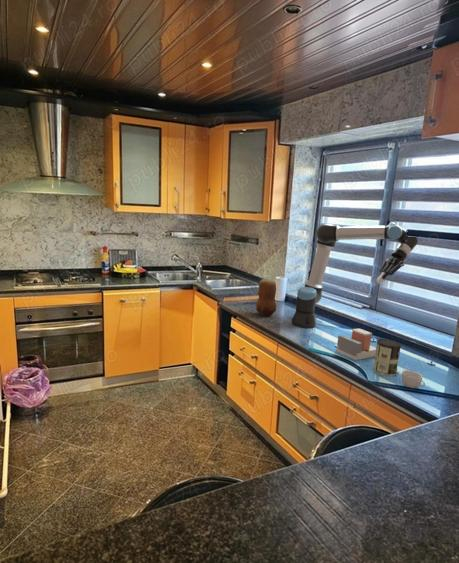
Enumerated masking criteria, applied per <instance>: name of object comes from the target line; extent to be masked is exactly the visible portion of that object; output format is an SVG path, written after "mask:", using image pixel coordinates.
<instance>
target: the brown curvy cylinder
mask: <svg viewBox="0 0 459 563" xmlns="http://www.w3.org/2000/svg"><path fill="white" fill-rule="evenodd" d="M257 294H258V299H257V301H256V305H255V307H256V312H258V314H260V315H262V316H264V317H270V316H272V315H273V314H275V313H276V311H277V303H276V294H277V284H276V281H275V280H274V279H266V278H263V279H260V280H259V283H258V293H257Z"/></svg>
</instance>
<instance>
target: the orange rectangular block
mask: <svg viewBox="0 0 459 563" xmlns="http://www.w3.org/2000/svg"><path fill="white" fill-rule="evenodd" d="M372 335H373V333H372V332H370V331H367V330H365V329H362V328H353V329H352V332H351V337H350V338H351V339H354V340H356V341H359V342H361V343H362V351H365V350H369V349H370V346H371V343H372V342H371V341H372Z"/></svg>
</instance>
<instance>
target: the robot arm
mask: <svg viewBox="0 0 459 563" xmlns="http://www.w3.org/2000/svg"><path fill="white" fill-rule="evenodd" d="M406 231H407V230H406V229H404V228H402V227H401V226H400V225H398V224H397V223H395V222H393V221H391V222H389V224H387V225H370V226H368V225H365V226H339V225H338V224H337V225H334V224H332V223H324V224H321V225H319V227H318V228H317V230H316V232H315V235H316V238H317V239H316V245H317V249H316V252H315V255H314V260H313V262H312V267H311V270H310V274H309V278H308V281H306V282H305V283H304V286H303V287H300V288H298V289H297V293H296V295H297V296H296V304H295V312H294V314H293V317H292V318H291V324H292V325H293V326H295V327H298V328H305V329H311V328H316V324H317V322H316V317H315V308H316V307H315V306H316V304H317V303H319V302H320V301H321V299H322V295H323V293H322V292H323V288H324V286H323V285H322V284H323V279H324V276H325V272H326V269H327V266H328V262H329V259H330V255H331V251H332V250H333V249H334V248H335V247H336V246H335V245H336V242H339V241H343V240H345V241H347V240H354V241H355V240H395V241H397V242H398V243H399V244H398V246H397V247H396V248H395V249H394V251H393V252H392V253H391V256H390V257H388V258H383V261H382V264H381V265H380V267H379V272H380V273H379V274H378V275H377V276H378V277H377V278H376V280H375V281H376V284H379V285H380V284H381V283H382V282H383V281H384V280H385V279H386V278H387V277H388V276H393V275H394V274H395V273H396V272H397V271H398V270H399V269H401V268H402V267H404V266H405V263H404V261H405V260H406V258H407V257H408V256H409V254H410V253H411V252H412V251H413V250H414V248H415V247H416V246H417V245H418V243H419V242H420V241H421V238H418V237H408V236H406Z"/></svg>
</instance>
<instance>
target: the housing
mask: <svg viewBox="0 0 459 563" xmlns="http://www.w3.org/2000/svg"><path fill="white" fill-rule="evenodd" d="M351 338H352V337H349V336H346V335H344V334H340V335H338V336H337V344H336V352H337V353H339V352H340V353H339V354H342V355H344V356H347V357H348V356H349V357H348V358H350V357H351V359H353V360H355V361H357V360H358V361H359V360H363V359H369V358H373V357H374V358H375V353H376V347H375V346H373V345H370V349H369V350H365V351H362V343H361V342H359V341H356V340H354V339H351Z"/></svg>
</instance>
